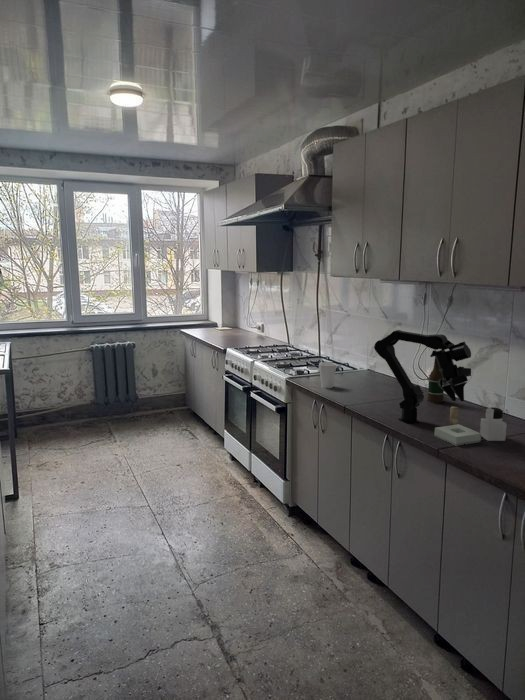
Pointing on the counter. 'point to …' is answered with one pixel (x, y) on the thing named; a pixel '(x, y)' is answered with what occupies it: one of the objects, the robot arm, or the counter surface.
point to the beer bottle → (435, 384)
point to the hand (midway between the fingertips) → (458, 401)
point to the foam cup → (327, 374)
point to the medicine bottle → (493, 425)
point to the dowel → (454, 416)
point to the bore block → (457, 434)
